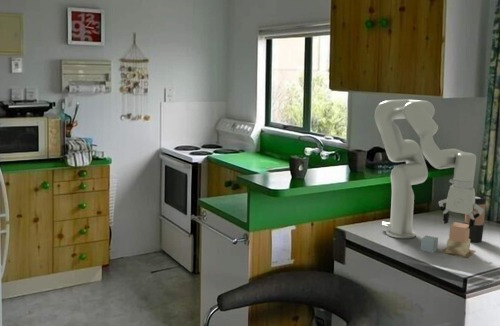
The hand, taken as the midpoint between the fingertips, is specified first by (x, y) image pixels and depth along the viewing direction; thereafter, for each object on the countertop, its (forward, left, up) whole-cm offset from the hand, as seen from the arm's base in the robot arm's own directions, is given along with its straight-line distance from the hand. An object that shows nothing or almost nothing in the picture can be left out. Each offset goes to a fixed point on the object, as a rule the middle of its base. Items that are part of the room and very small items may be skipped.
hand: (458, 225), depth 229 cm
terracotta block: (+1, 0, -6) cm, 6 cm away
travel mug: (+1, +19, -12) cm, 22 cm away
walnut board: (+1, 0, -12) cm, 12 cm away
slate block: (-9, -5, -12) cm, 16 cm away
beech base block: (+1, 0, -11) cm, 11 cm away
